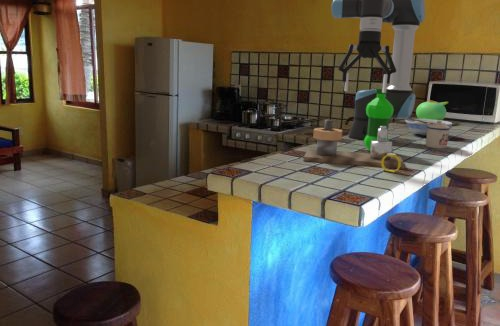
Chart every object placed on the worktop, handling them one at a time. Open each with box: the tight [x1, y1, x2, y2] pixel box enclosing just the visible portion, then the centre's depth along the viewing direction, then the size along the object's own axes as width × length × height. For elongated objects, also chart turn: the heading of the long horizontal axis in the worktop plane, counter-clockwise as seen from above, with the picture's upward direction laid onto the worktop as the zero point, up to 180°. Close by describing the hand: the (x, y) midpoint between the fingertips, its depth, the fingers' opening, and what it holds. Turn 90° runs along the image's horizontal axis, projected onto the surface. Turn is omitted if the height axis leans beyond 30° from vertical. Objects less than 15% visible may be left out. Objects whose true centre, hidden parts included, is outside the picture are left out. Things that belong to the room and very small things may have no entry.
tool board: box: [303, 119, 405, 170], centre depth 156 cm, size 34×16×14 cm, turn 77°
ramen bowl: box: [404, 117, 453, 137], centre depth 224 cm, size 25×23×8 cm
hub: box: [369, 126, 393, 160], centre depth 154 cm, size 7×7×12 cm
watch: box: [381, 152, 401, 173], centre depth 142 cm, size 6×3×6 cm, turn 55°
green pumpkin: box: [415, 99, 449, 121], centre depth 279 cm, size 18×17×15 cm
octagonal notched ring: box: [312, 127, 343, 141], centre depth 158 cm, size 10×10×3 cm
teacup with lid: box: [425, 120, 451, 150], centre depth 191 cm, size 12×9×12 cm
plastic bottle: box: [363, 88, 394, 152], centre depth 174 cm, size 10×10×25 cm
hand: (364, 92), depth 158 cm, fingers open, 13 cm apart
